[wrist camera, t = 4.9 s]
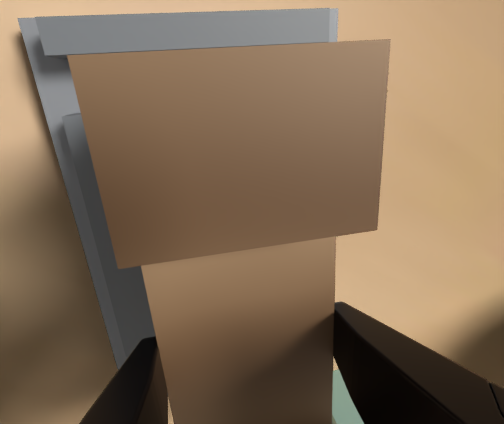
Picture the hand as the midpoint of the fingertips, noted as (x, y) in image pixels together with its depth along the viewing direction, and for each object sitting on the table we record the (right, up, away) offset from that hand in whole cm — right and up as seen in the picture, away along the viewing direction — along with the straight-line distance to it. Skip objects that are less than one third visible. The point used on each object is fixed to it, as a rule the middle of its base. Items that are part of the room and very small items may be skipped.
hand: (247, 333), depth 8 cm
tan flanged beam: (-1, +1, +3) cm, 4 cm away
